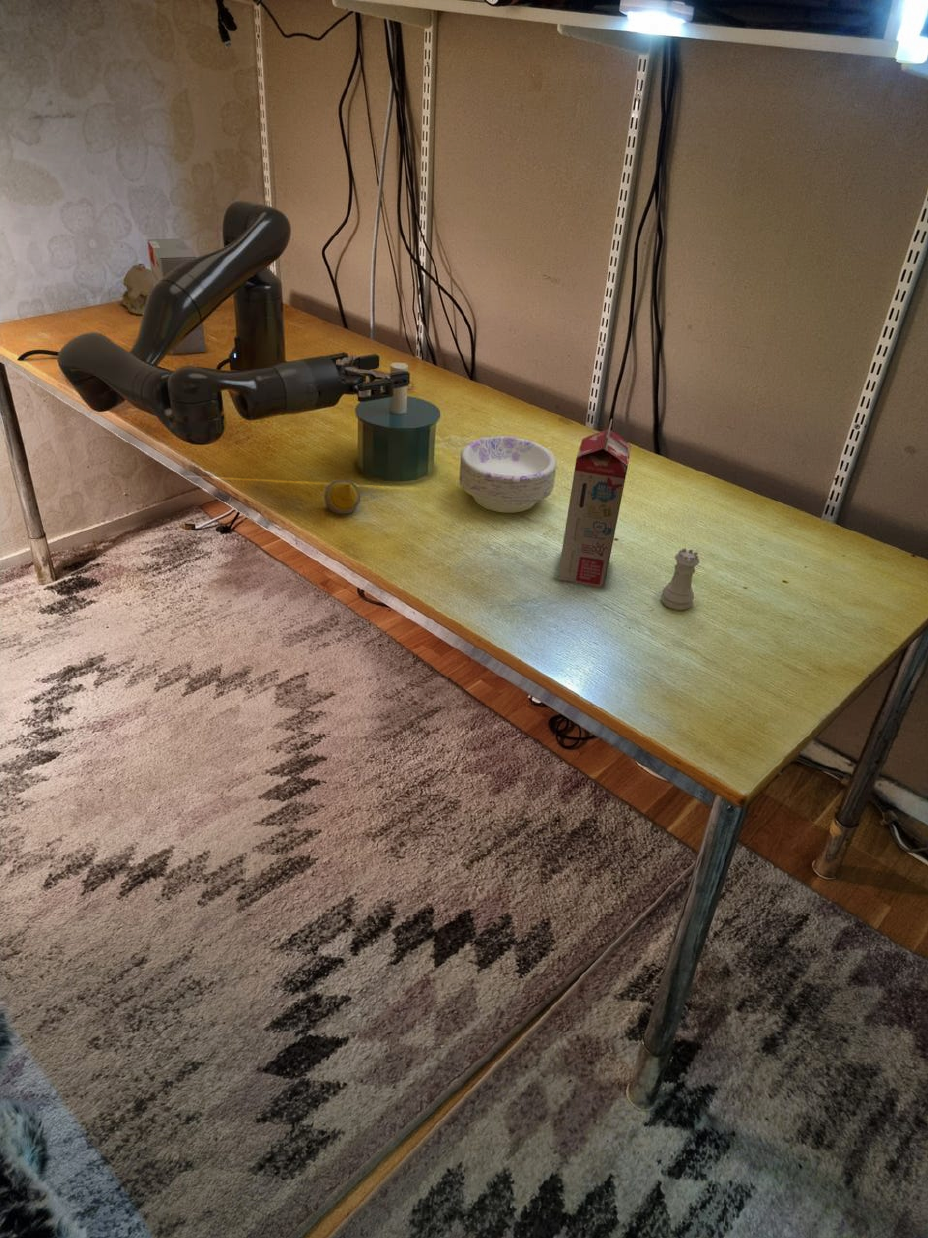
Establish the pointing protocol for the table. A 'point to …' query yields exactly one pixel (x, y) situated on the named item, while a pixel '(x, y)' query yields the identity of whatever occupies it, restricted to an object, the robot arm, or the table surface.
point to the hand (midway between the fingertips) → (393, 369)
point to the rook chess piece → (681, 582)
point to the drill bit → (342, 497)
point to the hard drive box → (163, 262)
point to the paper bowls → (507, 473)
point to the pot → (395, 453)
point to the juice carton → (594, 508)
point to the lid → (398, 410)
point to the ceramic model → (137, 288)
